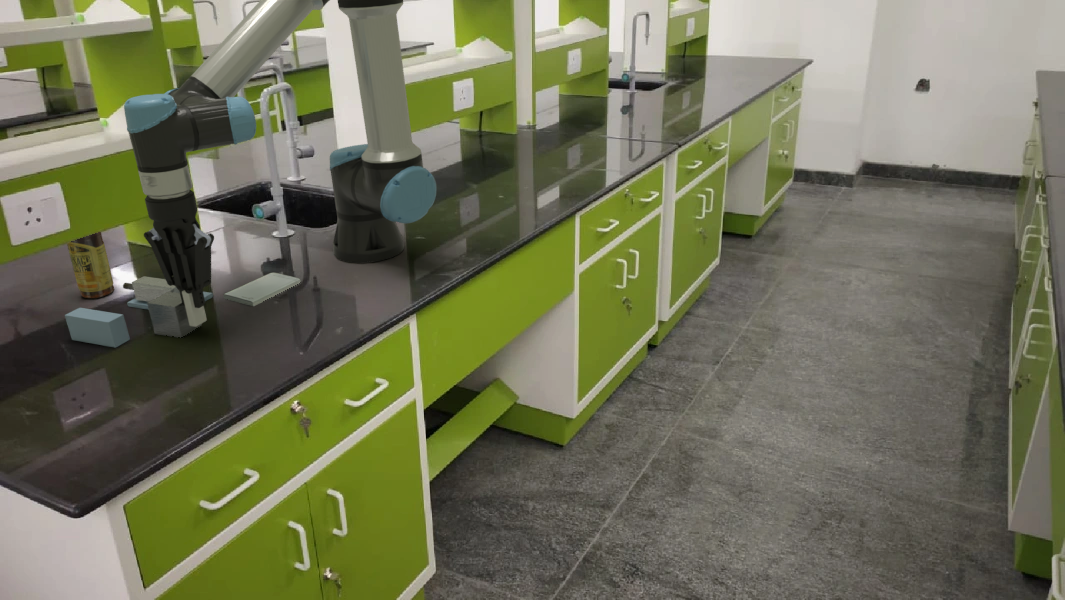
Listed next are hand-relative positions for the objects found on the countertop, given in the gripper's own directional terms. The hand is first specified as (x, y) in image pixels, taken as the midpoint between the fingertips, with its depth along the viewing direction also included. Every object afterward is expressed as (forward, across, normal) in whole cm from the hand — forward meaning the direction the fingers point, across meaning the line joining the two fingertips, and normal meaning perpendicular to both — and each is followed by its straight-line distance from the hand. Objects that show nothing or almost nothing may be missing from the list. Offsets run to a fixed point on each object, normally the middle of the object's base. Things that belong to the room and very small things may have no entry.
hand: (198, 322), depth 142 cm
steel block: (+2, -5, 0) cm, 5 cm away
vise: (+2, -15, +3) cm, 16 cm away
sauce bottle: (+2, -32, +9) cm, 34 cm away
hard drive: (+3, -1, +19) cm, 19 cm away
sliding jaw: (+1, -17, +8) cm, 19 cm away
